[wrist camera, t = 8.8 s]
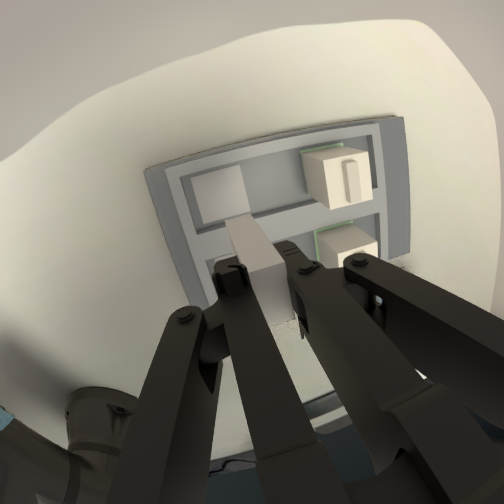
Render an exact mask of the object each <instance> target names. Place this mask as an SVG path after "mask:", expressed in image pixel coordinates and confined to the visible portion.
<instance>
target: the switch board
mask: <svg viewBox="0 0 504 504" xmlns="http://www.w3.org/2000/svg"><path fill="white" fill-rule="evenodd" d="M335 146H345V147H349V148H354V149H358V150H362V151H367V152H368V156H369V164H370V173H371V183H372V195H373V199H372V200H368V201H364V202H360V203H356V204H352V205H348V206H344V207H340V208H336V209H333V210H329V209H328V208H326V207H325V206H324V205H322V204H321V203H319V202H318V201H316V200H315V199H314V198H312V197H311V196H309V195H308V190H307V184H306V178H305V172H304V167H303V161H302V156H301V153H304V152H309V151H314V150H319V149H325V148H330V147H335ZM143 172H144V175H145V179H146V182H147V185H148V188H149V191H150V195H151V198H152V201H153V204H154V207H155V210H156V213H157V216H158V219H159V222H160V225H161V227H162V230H163V233H164V236H165V239H166V242H167V245H168V247H169V250H170V253H171V256H172V258H173V261H174V264H175V266H176V269H177V272H178V274H179V277H180V279H181V282H182V285H183V287H184V290H185V292H186V295H187V297H188V300H189V302H190V305H191V306H197V307H200V308H201V309H202V311H203V310H205V309H207V308H209V307H210V306H212V305H213V304H214V303H215V302H216V301H217V300H218V295H217V292H216V289H215V286H214V283H213V280H212V274H213V272H214V268H213V267H214V265H215V263H216V261H219V260H223V259H226V258H229V257H233V256H234V254H233V250H232V247H231V243H230V239H229V236H228V232H227V229H226V225H225V220H228V219H232V218H235V217H239V216H242V215H246V214H251V215H252V217H253V218H254V220H255V221H256V222H257V224H258V225H259V226H260V228H261V229H262V231H263V232H264V233H265V235H266V236H267V237H268V239H269V240H270V242H271V243H272V244H274V243H278V242H281V241H284V240H288V241H291V242H294V243H295V244H296V245H297V246H298V248H299V249H300V250H301V251H302V252H303V253H304V254H305V255H306V256H307V258H308V259H309V260H314V261H318V262H320V256H319V248H318V241H317V234H316V233H318V232H322V231H325V230H329V229H332V228H336V227H340V226H343V225H347V224H350V223H353V224H354V225H355V226H357V227H358V228H360V229H361V230H362V231H364V232H365V233H366V234H368V235H369V236H371V237H372V238H373V239H375V240H376V241H377V245H378V258H380V259H382V260H384V261H386V262H388V260H390V259H392V258H395V257H398V256H401V255H404V254H406V253H409V252H410V184H409V167H408V154H407V144H406V134H405V126H404V118H403V117H398V116H393V117H383V118H373V119H365V120H357V121H349V122H342V123H335V124H329V125H322V126H316V127H310V128H305V129H299V130H294V131H289V132H283V133H278V134H274V135H269V136H264V137H260V138H255V139H251V140H246V141H242V142H238V143H234V144H230V145H226V146H222V147H218V148H214V149H211V150H207V151H203V152H200V153H196V154H192V155H189V156H186V157H182V158H179V159H175V160H172V161H169V162H166V163H163V164H159V165H156V166H153V167H150V168H147V169H145V170H144V171H143Z"/></svg>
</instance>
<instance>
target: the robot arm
mask: <svg viewBox="0 0 504 504" xmlns="http://www.w3.org/2000/svg"><path fill="white" fill-rule="evenodd" d="M225 225H226V229H227V232H228V236H229V239H230V243H231V247H232V250H233V254H234V256H233V257H229V258H226V259H223V260H219V261H216V263H215V265H214V267H213V268H214V272H213V274H212V280H213V283H214V286H215V289H216V292H217V295H218V300H217V301H216V302H215V303H214V304H213V305H212V306H210V307H209V308H207V309H205V310H203V311H202V309H201V308H200V307H197V306H186V307H182V308H180V309H178V310H176V311H175V312H174V313H173V314H171V316H170V317H169V319H168V322H167V324H166V327H165V329H164V332H163V334H162V337H161V339H160V342H159V345H158V347H157V350H156V352H155V355H154V358H153V360H152V363H151V366H150V368H149V371H148V374H147V377H146V379H145V382H144V385H143V388H142V390H141V393H140V396H139V399H136V398H134V397H132V396H130V395H127V394H125V393H122V392H119V391H115V390H111V389H106V388H98V387H89V388H82V389H79V390H76V391H75V392H73V393H72V394H71V395H70V396H69V399H68V402H67V405H66V409H65V416H66V425H67V434H68V442H69V445H68V450H66V449H64V448H62V447H61V446H59V445H57V444H55V443H53V442H52V441H50V440H48V439H46V438H45V437H43V436H41V435H40V434H38V433H37V432H35V431H33V430H32V429H30V428H29V427H27V426H26V425H24V424H23V423H22V422H20V421H19V420H17V419H16V418H15V416H14V415H13V414H9V413H7V412H6V411H5V410H3V409H2V408H0V504H205V498H206V489H207V481H208V473H209V465H210V458H211V450H212V442H213V434H214V427H215V419H216V412H217V404H218V397H219V390H220V382H221V375H222V368H223V361H222V359H224V358H226V357H228V356H229V355H231V359H232V363H233V367H234V371H235V376H236V380H237V384H238V388H239V392H240V396H241V400H242V404H243V408H244V412H245V416H246V420H247V424H248V428H249V432H250V435H251V439H252V443H253V447H254V450H255V454H256V468H257V473H258V476H259V480H260V483H261V487H262V491H263V494H264V498H265V501H266V504H504V440H502V439H497V438H492V437H488V436H487V435H486V433H485V432H484V431H483V429H482V428H481V427H480V426H479V424H478V423H477V422H476V421H475V420H474V418H473V417H472V416H471V415H470V413H469V412H468V411H467V410H466V409H465V407H464V406H463V405H462V404H461V403H463V404H464V405H465V406H467V407H468V408H470V409H471V410H472V411H474V412H475V413H476V414H478V415H479V416H480V417H482V418H484V419H485V420H487V421H488V422H490V423H491V424H493V425H495V426H497V427H499V428H502V429H504V320H502V319H500V318H498V317H496V316H495V315H493V314H491V313H489V312H487V311H485V310H483V309H481V308H479V307H478V306H476V305H474V304H472V303H470V302H468V301H466V300H464V299H462V298H460V297H458V296H456V295H454V294H452V293H450V292H448V291H446V290H444V289H442V288H440V287H438V286H436V285H434V284H432V283H430V282H428V281H426V280H424V279H422V278H420V277H418V276H416V275H414V274H411V273H409V272H407V271H405V270H403V269H401V268H399V267H397V266H395V265H392V264H390V263H388V262H386V261H384V260H382V259H380V258H377V257H375V256H373V255H371V254H367V253H354V254H351V255H349V256H347V257H346V258H344V260H343V267H339V268H329V269H327V268H325V267H324V266H323V264H321V263H320V262H318V261H314V260H309V259H308V258H307V256H306V255H305V254H304V253H303V252H302V251H301V250H300V249H299V248H298V246H297V245H296V244H295V243H294V242H291V241H288V240H284V241H281V242H278V243H274V244H272V243H271V242H270V240H269V239H268V237H267V236H266V235H265V233H264V232H263V231H262V229H261V228H260V226H259V225H258V224H257V222H256V221H255V220H254V218H253V217H252V215H251V214H246V215H242V216H239V217H235V218H232V219H228V220H225ZM376 296H378V297H380V298H381V299H382V304H381V303H379V302H377V301H376ZM294 310H295V312H296V314H297V315H298V321H299V327H300V333H301V338H302V339H304V335H305V337H306V338H307V340H308V342H309V344H310V346H311V347H312V349H313V351H314V353H315V355H316V356H317V358H318V360H319V362H320V364H321V365H322V367H323V369H324V371H325V373H326V375H327V376H328V378H329V380H330V382H331V384H332V385H333V387H334V389H335V391H336V393H337V394H338V396H339V398H340V400H341V402H342V404H343V405H344V407H345V409H346V411H347V413H348V414H349V416H350V418H351V420H352V422H353V424H354V425H355V427H356V429H357V431H358V433H359V434H360V436H361V438H362V440H363V442H364V444H365V445H366V447H367V449H368V451H369V453H370V455H371V458H372V461H373V466H374V470H375V473H376V475H377V476H375V477H372V478H368V479H363V480H359V481H354V482H349V483H341V481H340V479H339V476H338V474H337V472H336V470H335V467H334V465H333V463H332V461H331V459H330V457H329V455H328V452H327V450H326V448H325V446H324V444H323V443H322V441H320V440H319V439H318V438H317V436H316V434H315V432H314V429H313V427H312V425H311V423H310V420H309V418H308V416H307V414H306V411H305V409H304V407H303V405H302V402H301V400H300V398H299V395H298V393H297V391H296V389H295V386H294V384H293V382H292V379H291V377H290V375H289V372H288V370H287V368H286V365H285V363H284V361H283V359H282V356H281V354H280V352H279V349H278V347H277V345H276V342H275V340H274V338H273V335H272V333H271V331H270V328H269V327H272V326H275V325H278V324H281V323H284V322H287V321H290V320H293V319H296V318H295V313H294ZM416 370H417V371H419V372H420V373H421V374H423V375H424V376H426V377H427V378H429V379H430V380H431V381H433V382H434V383H435V384H433V385H430V384H428V383H427V382H426V381H425V380H424V379H423V378H422V377H421V375H420V374H419V373H418V372H417V371H416ZM460 402H461V403H460Z"/></svg>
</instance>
